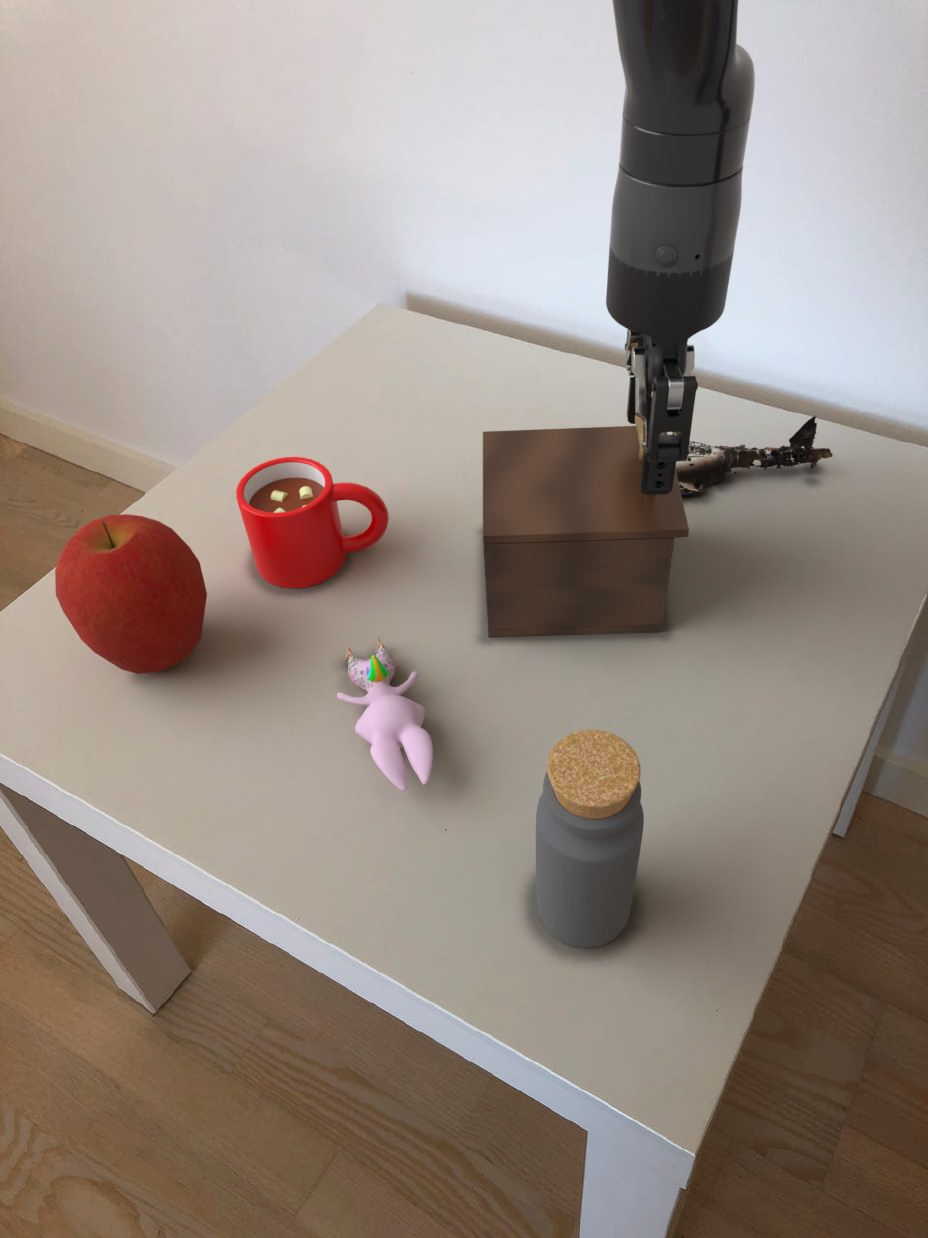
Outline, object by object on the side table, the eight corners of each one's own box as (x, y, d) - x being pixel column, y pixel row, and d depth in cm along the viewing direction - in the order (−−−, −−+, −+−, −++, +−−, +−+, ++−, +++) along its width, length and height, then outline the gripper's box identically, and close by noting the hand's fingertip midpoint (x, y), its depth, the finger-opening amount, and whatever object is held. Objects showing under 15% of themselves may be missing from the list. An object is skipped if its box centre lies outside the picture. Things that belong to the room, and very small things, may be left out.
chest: (642, 526, 83) (653, 433, 76) (661, 632, 74) (675, 538, 67) (487, 531, 83) (483, 439, 76) (488, 637, 75) (483, 544, 68)
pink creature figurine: (330, 681, 74) (373, 818, 62) (315, 621, 71) (357, 755, 59) (407, 659, 75) (463, 790, 64) (395, 599, 72) (453, 727, 60)
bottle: (606, 850, 61) (621, 707, 50) (646, 931, 57) (672, 795, 46) (522, 878, 60) (518, 738, 49) (557, 963, 56) (562, 831, 45)
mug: (395, 578, 80) (384, 505, 74) (253, 592, 80) (231, 521, 74) (391, 518, 85) (381, 446, 80) (258, 531, 85) (239, 460, 79)
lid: (664, 432, 75) (671, 376, 72) (688, 537, 67) (697, 480, 63) (483, 439, 76) (480, 384, 72) (483, 544, 68) (480, 488, 64)
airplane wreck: (839, 486, 85) (854, 434, 81) (634, 503, 85) (639, 453, 81) (818, 447, 89) (831, 397, 85) (622, 464, 89) (626, 414, 85)
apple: (246, 620, 77) (203, 486, 67) (186, 714, 71) (128, 582, 61) (137, 597, 80) (79, 465, 70) (69, 686, 73) (-5, 555, 63)
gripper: (757, 293, 53) (716, 516, 64) (714, 187, 62) (685, 397, 74) (622, 299, 53) (605, 519, 65) (600, 192, 63) (588, 401, 74)
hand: (647, 454), depth 69 cm, fingers open, 8 cm apart
